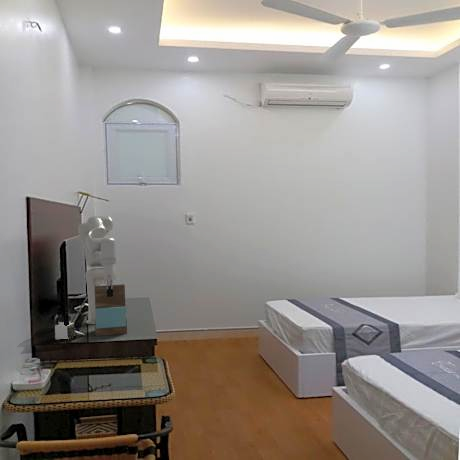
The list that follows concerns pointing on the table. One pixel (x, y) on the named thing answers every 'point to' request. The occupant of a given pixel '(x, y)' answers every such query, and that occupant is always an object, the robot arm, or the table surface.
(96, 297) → the striped wooden block
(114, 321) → the panel
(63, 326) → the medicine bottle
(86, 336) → the table surface
